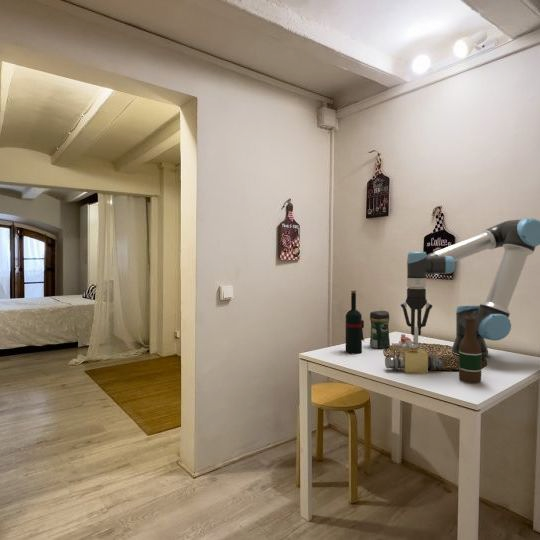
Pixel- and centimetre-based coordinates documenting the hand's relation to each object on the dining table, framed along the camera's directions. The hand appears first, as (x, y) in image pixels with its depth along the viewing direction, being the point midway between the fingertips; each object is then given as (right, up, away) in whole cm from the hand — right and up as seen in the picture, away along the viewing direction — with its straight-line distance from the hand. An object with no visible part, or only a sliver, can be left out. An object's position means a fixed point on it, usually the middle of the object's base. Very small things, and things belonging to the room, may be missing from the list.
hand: (415, 342), depth 163 cm
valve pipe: (-4, -10, -7) cm, 13 cm away
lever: (-4, -1, -3) cm, 5 cm away
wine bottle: (-21, -9, +23) cm, 32 cm away
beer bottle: (+13, -11, -20) cm, 26 cm away
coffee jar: (-7, -8, +31) cm, 33 cm away
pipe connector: (0, -9, +14) cm, 17 cm away
